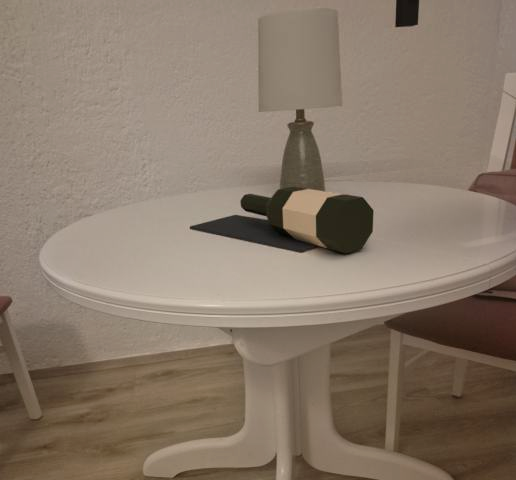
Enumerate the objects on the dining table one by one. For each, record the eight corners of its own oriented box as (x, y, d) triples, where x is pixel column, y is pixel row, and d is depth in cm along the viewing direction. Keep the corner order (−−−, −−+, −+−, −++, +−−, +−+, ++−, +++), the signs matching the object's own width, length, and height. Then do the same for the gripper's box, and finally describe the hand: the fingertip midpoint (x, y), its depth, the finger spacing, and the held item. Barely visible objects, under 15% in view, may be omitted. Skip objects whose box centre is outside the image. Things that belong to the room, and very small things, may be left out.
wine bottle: (343, 189, 67) (233, 174, 90) (326, 248, 69) (222, 218, 92) (381, 204, 72) (267, 186, 95) (364, 258, 74) (257, 227, 97)
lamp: (284, 209, 106) (275, 7, 89) (252, 198, 121) (239, 23, 104) (356, 198, 111) (361, 6, 95) (317, 188, 127) (315, 22, 110)
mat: (348, 235, 82) (348, 233, 82) (301, 252, 75) (301, 249, 75) (235, 216, 103) (235, 214, 102) (189, 228, 96) (189, 226, 95)
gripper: (360, -183, 62) (358, 34, 72) (425, -250, 50) (412, 18, 61) (410, -179, 64) (401, 32, 74) (483, -242, 52) (460, 16, 63)
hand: (406, 25), depth 68 cm, fingers closed
